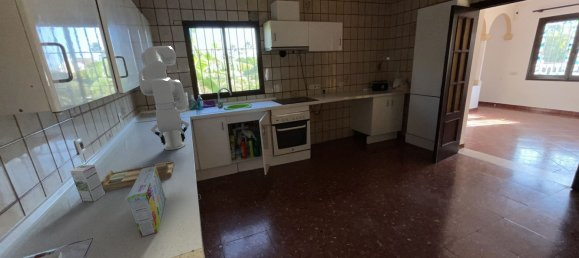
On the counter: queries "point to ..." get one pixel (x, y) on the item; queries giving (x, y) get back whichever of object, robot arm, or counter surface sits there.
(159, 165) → the block
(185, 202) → the counter surface
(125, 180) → the tray
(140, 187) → the snack box
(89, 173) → the syrup box
